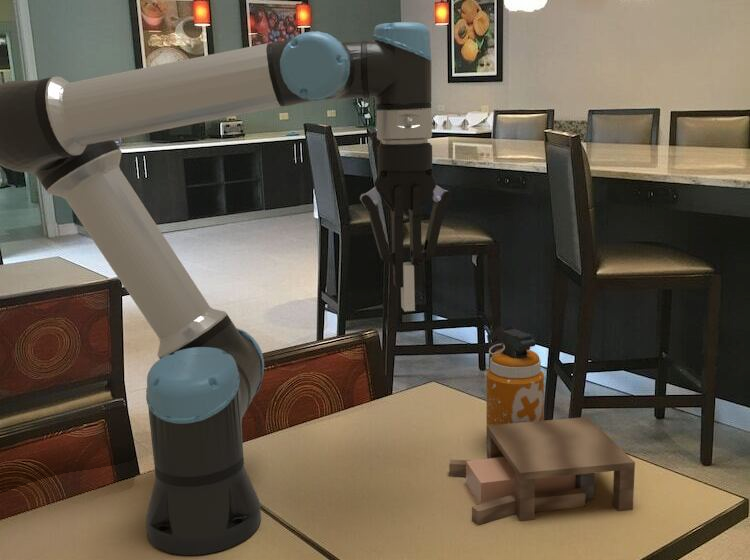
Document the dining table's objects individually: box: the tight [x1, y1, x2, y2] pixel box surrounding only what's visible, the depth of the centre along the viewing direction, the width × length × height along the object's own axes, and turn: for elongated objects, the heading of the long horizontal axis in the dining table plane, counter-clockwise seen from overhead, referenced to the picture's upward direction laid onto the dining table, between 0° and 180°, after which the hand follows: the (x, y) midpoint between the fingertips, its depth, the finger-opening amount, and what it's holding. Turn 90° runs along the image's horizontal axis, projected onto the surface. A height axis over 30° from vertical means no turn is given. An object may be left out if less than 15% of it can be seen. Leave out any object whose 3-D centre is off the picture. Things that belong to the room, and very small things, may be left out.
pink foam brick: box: [465, 457, 576, 505], centre depth 114 cm, size 14×7×4 cm, turn 101°
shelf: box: [448, 416, 636, 526], centre depth 114 cm, size 22×16×7 cm
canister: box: [485, 324, 545, 445], centre depth 127 cm, size 9×11×20 cm
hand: (407, 308), depth 113 cm, fingers closed
